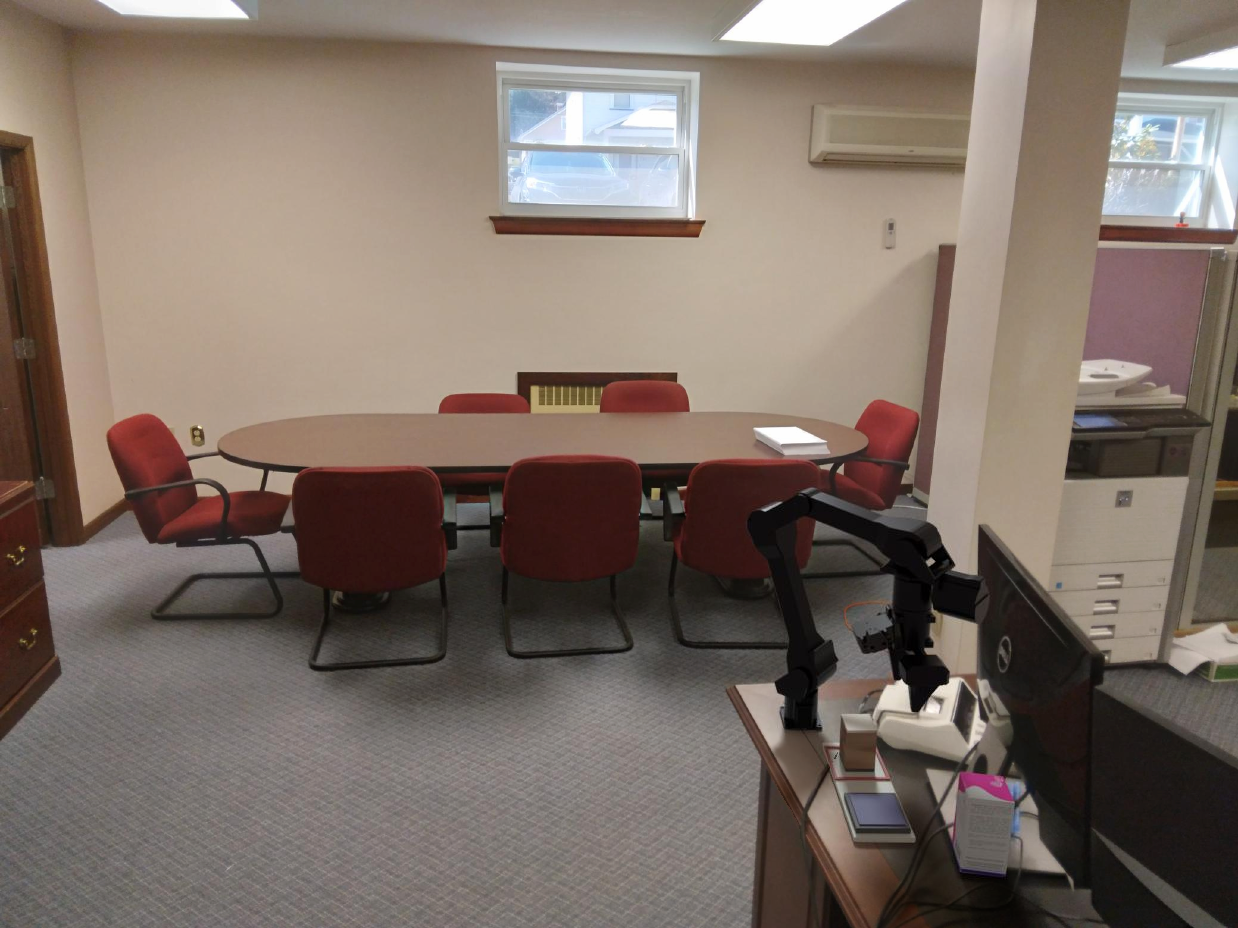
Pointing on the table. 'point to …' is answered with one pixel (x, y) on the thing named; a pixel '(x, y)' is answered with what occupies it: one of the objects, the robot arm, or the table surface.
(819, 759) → the table surface
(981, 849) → the supplement box
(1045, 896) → the table surface
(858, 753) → the stamp
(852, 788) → the blotter board
